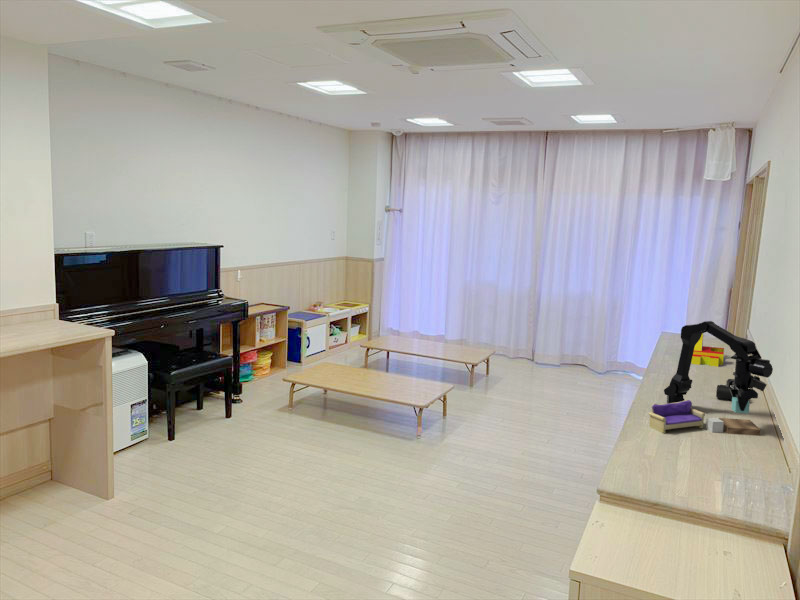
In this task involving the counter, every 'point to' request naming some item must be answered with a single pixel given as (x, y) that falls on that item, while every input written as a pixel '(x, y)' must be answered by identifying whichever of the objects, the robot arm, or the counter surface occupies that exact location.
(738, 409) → the teal block
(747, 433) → the base block
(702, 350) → the building blocks toy
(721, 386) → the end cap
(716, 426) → the grey cube
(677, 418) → the toy sofa
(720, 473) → the counter surface
